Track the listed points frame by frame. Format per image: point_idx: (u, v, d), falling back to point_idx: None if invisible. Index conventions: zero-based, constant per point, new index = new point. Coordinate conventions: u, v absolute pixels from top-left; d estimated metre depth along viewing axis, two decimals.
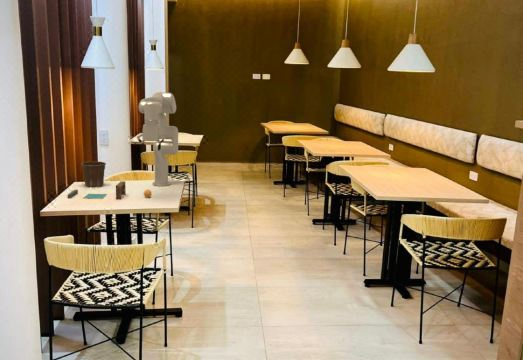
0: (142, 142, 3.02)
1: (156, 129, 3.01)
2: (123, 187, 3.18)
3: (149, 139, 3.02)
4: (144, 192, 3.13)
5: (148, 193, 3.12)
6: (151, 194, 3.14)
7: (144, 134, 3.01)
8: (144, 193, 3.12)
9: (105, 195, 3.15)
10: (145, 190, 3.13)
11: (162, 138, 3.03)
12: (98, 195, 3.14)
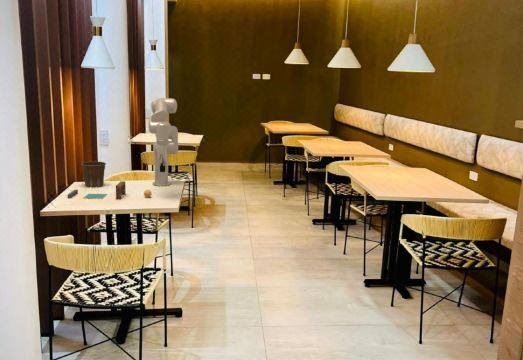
0: (164, 164, 3.10)
1: None
2: (123, 187, 3.18)
3: (165, 159, 3.10)
4: (144, 192, 3.13)
5: (148, 193, 3.12)
6: (151, 194, 3.14)
7: (165, 155, 3.07)
8: (144, 193, 3.12)
9: (105, 195, 3.15)
10: (145, 190, 3.13)
11: None
12: (98, 195, 3.14)
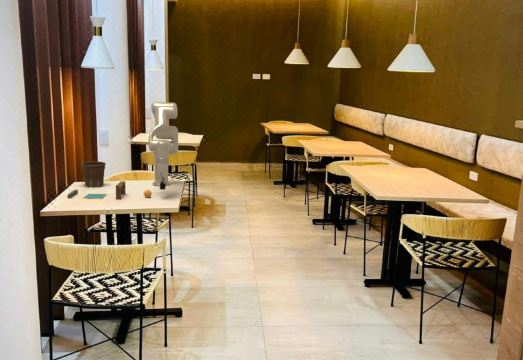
0: (164, 181, 3.12)
1: None
2: (123, 187, 3.18)
3: (165, 176, 3.12)
4: (144, 192, 3.13)
5: (148, 193, 3.12)
6: (151, 194, 3.14)
7: (165, 173, 3.08)
8: (144, 193, 3.12)
9: (105, 195, 3.15)
10: (145, 190, 3.13)
11: None
12: (98, 195, 3.14)
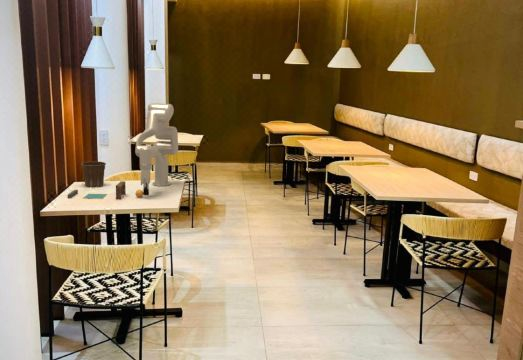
0: (148, 187, 3.12)
1: None
2: (123, 187, 3.18)
3: (149, 182, 3.12)
4: None
5: (138, 193, 3.11)
6: (139, 190, 3.12)
7: (148, 179, 3.09)
8: (139, 197, 3.12)
9: (105, 195, 3.15)
10: None
11: None
12: (98, 195, 3.14)
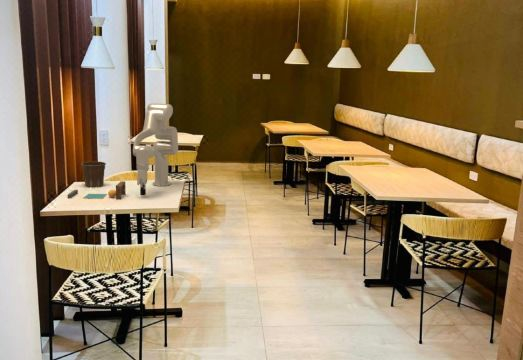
0: (144, 187, 3.12)
1: None
2: (123, 187, 3.18)
3: (146, 182, 3.12)
4: None
5: (110, 193, 3.09)
6: (110, 190, 3.10)
7: (145, 179, 3.09)
8: (113, 196, 3.10)
9: (105, 195, 3.15)
10: None
11: None
12: (98, 195, 3.14)
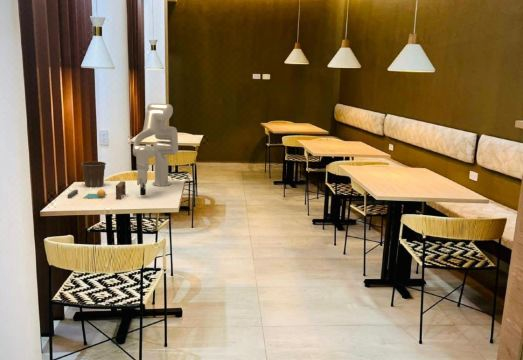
0: (144, 187, 3.12)
1: None
2: (123, 187, 3.18)
3: (146, 182, 3.12)
4: (101, 190, 3.09)
5: (101, 195, 3.08)
6: None
7: (145, 179, 3.09)
8: (100, 190, 3.08)
9: (105, 195, 3.15)
10: None
11: None
12: None
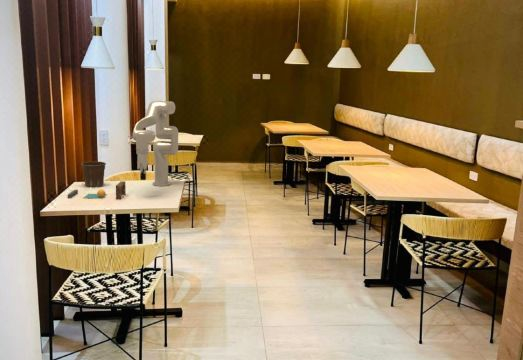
0: (144, 172, 3.11)
1: None
2: (123, 187, 3.18)
3: (146, 167, 3.11)
4: (101, 190, 3.09)
5: (101, 195, 3.08)
6: None
7: (145, 163, 3.07)
8: (100, 190, 3.08)
9: (105, 195, 3.15)
10: None
11: None
12: None
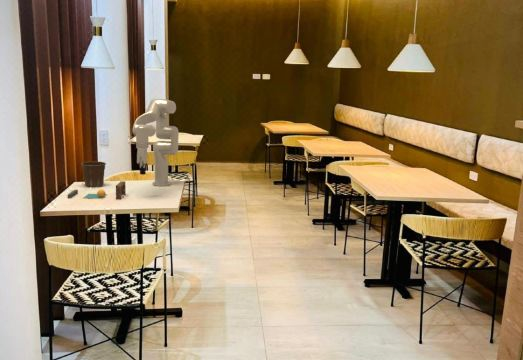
0: (144, 166, 3.10)
1: None
2: (123, 187, 3.18)
3: (145, 161, 3.10)
4: (101, 190, 3.09)
5: (101, 195, 3.08)
6: None
7: (145, 157, 3.06)
8: (100, 190, 3.08)
9: (105, 195, 3.15)
10: None
11: None
12: None
